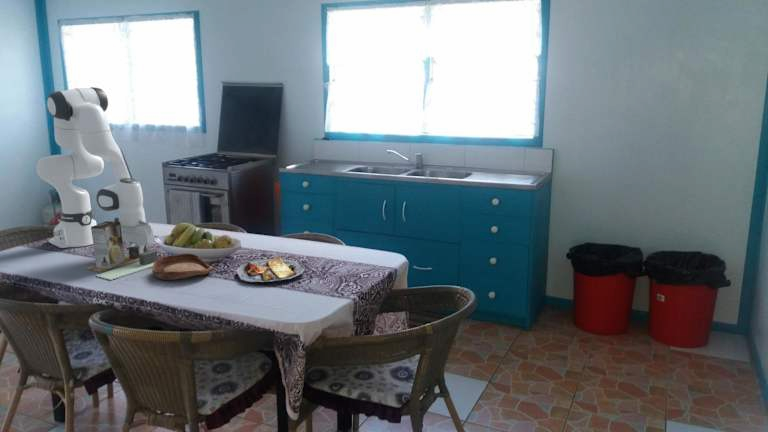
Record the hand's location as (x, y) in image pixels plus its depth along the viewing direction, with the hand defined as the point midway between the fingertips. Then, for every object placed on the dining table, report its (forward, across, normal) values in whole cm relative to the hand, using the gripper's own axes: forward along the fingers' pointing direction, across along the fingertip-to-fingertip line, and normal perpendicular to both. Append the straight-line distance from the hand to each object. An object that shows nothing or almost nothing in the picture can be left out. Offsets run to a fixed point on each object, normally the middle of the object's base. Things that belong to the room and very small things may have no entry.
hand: (136, 253), depth 243 cm
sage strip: (+2, -11, +11) cm, 16 cm away
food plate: (+2, -60, -12) cm, 61 cm away
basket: (+2, -32, +4) cm, 32 cm away
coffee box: (+2, 0, +12) cm, 12 cm away
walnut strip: (+2, 0, +8) cm, 8 cm away
